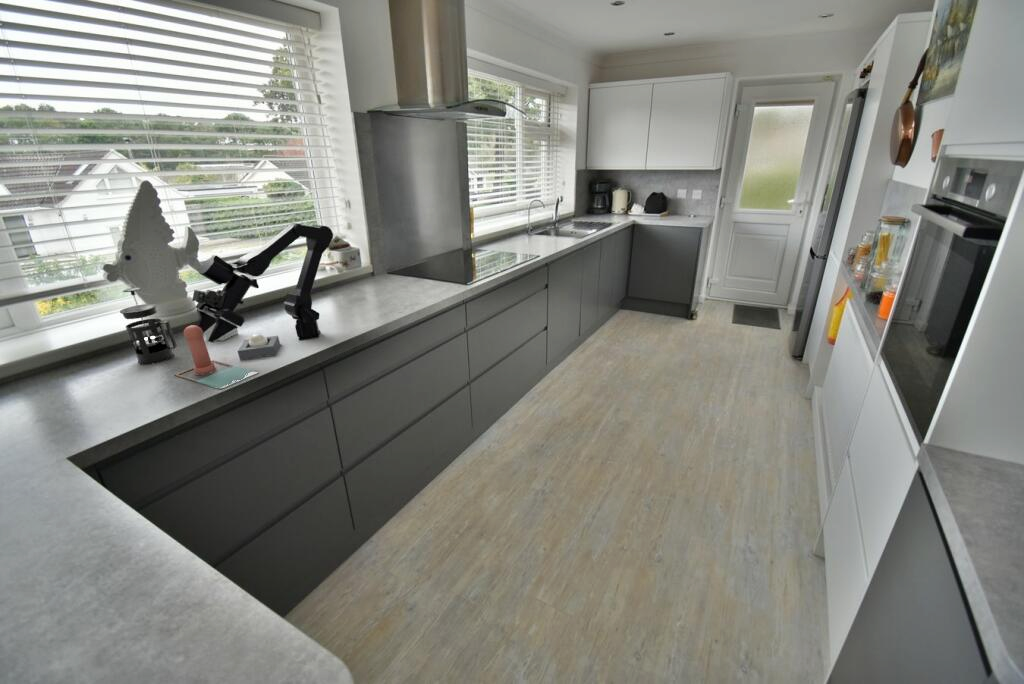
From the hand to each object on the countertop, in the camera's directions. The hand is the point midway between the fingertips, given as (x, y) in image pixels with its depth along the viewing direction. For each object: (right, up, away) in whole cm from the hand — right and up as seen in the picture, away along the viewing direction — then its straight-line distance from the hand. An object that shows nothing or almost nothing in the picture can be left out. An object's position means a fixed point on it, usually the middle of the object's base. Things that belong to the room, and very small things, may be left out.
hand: (203, 338), depth 133 cm
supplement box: (-13, +1, +30) cm, 32 cm away
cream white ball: (+8, -3, +15) cm, 17 cm away
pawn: (-1, -10, +2) cm, 10 cm away
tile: (+9, -11, -3) cm, 15 cm away
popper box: (+8, -4, +15) cm, 18 cm away
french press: (-23, -6, +13) cm, 27 cm away
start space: (-1, -10, +2) cm, 10 cm away
